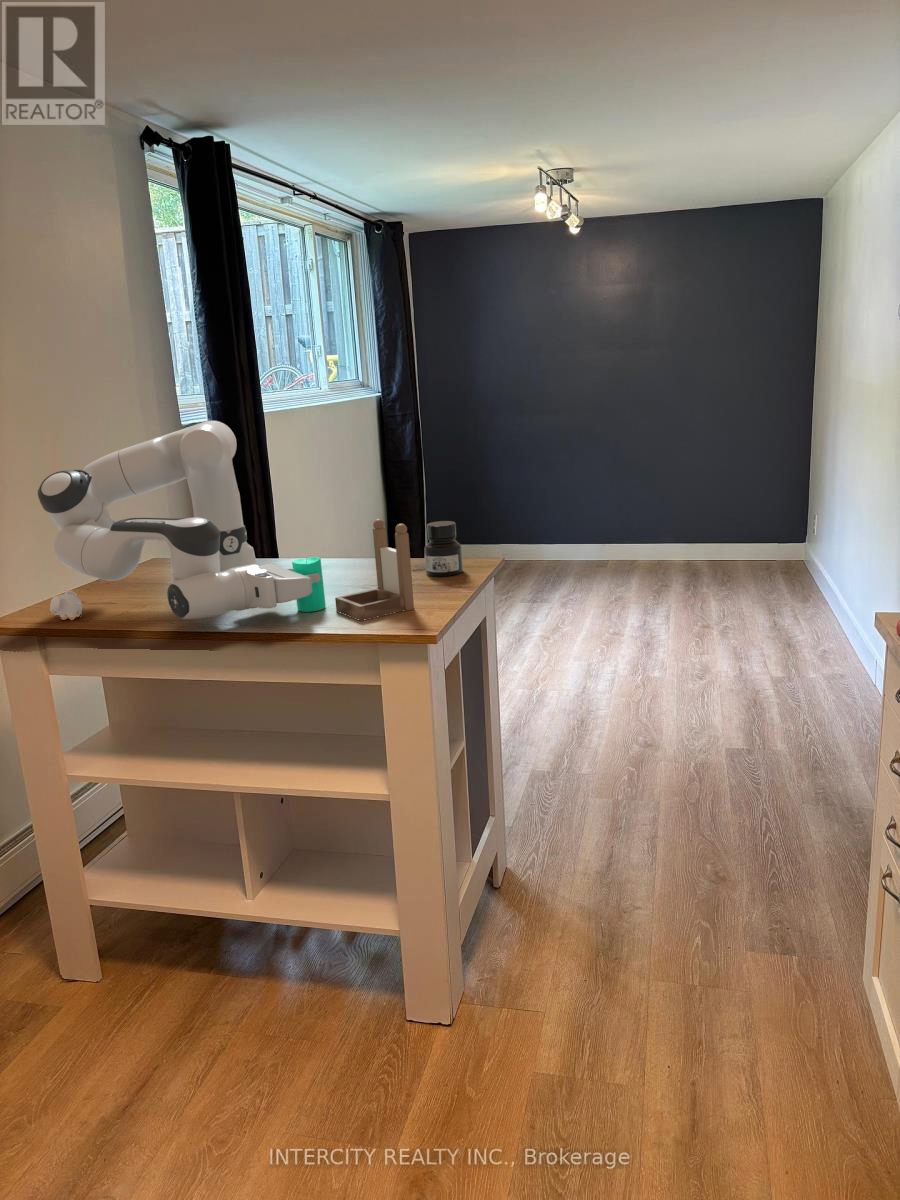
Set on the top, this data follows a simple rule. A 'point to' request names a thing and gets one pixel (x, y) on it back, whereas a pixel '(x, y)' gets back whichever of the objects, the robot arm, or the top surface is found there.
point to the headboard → (393, 562)
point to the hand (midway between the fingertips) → (311, 574)
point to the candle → (317, 596)
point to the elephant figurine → (66, 604)
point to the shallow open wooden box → (370, 603)
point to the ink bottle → (442, 550)
